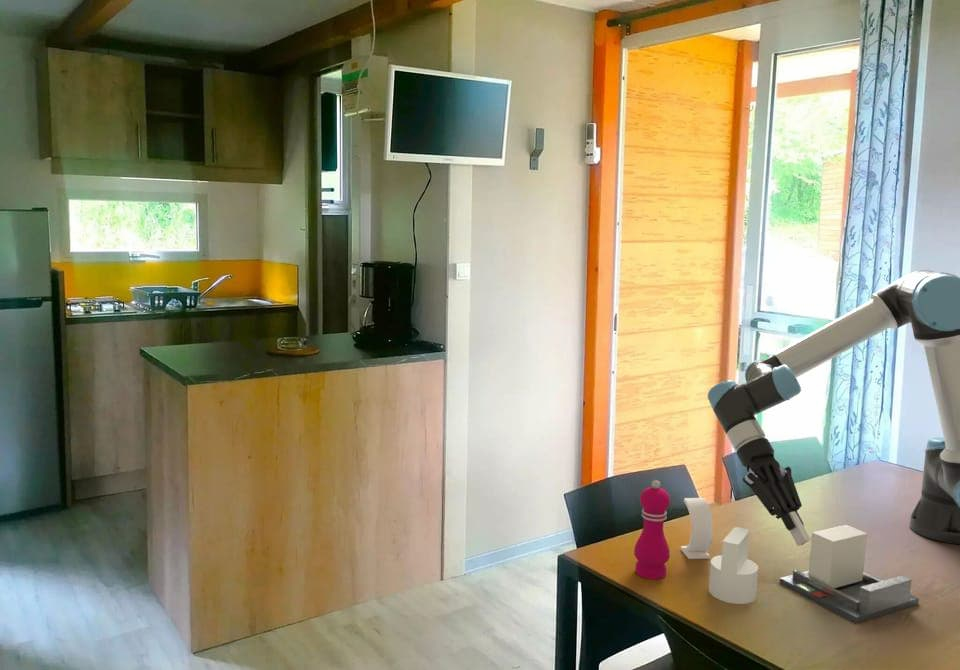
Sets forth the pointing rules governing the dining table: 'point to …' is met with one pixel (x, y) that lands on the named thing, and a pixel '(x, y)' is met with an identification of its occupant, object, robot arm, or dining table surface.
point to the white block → (837, 555)
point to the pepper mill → (653, 534)
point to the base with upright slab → (734, 570)
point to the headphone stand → (699, 529)
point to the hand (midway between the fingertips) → (804, 542)
